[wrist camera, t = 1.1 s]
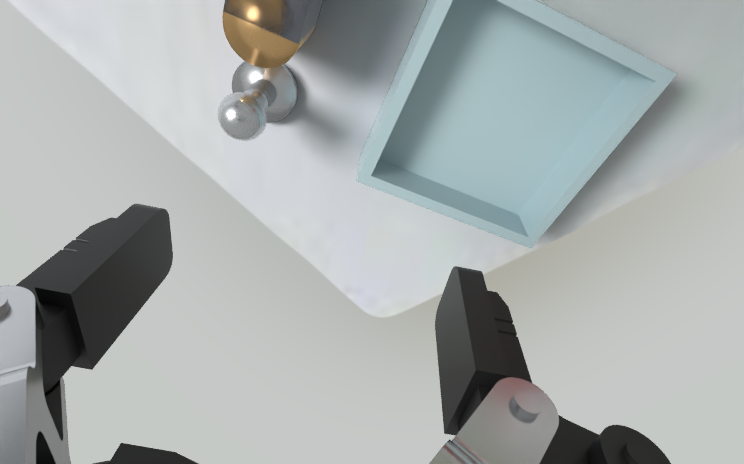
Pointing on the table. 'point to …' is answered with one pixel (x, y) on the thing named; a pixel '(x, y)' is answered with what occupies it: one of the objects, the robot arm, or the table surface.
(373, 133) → the bin
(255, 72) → the stud post
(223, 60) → the table surface
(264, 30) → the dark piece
